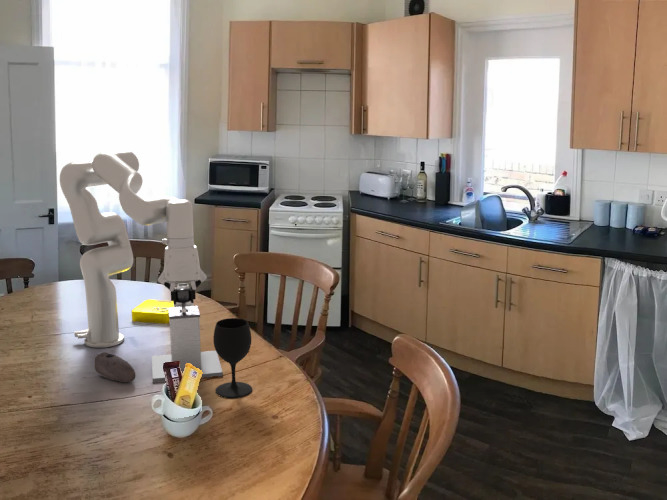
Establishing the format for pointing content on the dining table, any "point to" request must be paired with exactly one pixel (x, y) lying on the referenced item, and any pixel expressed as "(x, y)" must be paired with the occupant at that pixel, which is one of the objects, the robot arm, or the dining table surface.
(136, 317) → the element tile
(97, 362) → the perforated stone tool
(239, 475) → the dining table surface
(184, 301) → the dark grey cylinder
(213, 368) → the grey board
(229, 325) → the wine glass
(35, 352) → the dining table surface
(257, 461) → the dining table surface
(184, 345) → the grey block
